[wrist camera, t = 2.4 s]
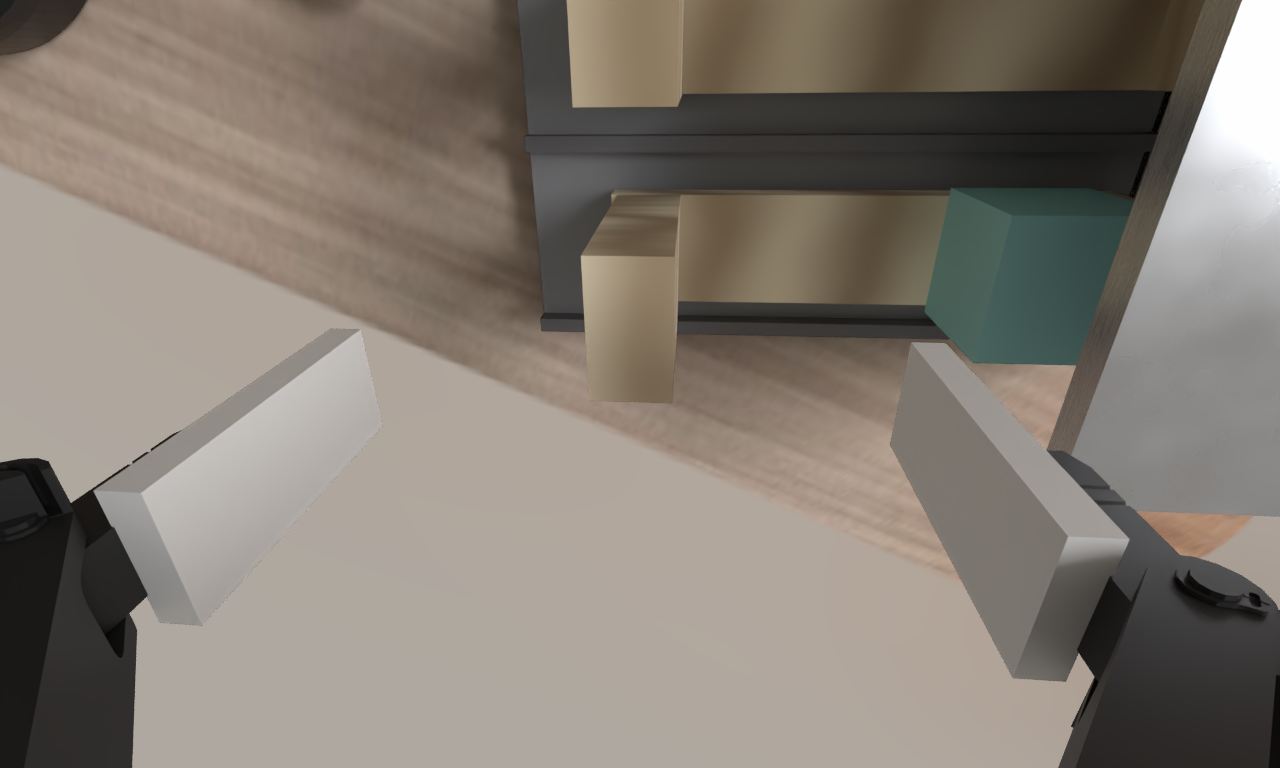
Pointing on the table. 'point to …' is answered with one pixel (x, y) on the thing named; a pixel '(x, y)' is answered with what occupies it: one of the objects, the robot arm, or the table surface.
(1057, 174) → the lane board
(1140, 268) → the grey open box shape
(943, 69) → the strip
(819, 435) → the table surface
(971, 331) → the block
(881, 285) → the wooden l-shaped bracket
